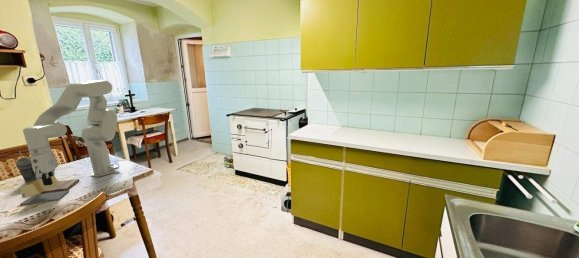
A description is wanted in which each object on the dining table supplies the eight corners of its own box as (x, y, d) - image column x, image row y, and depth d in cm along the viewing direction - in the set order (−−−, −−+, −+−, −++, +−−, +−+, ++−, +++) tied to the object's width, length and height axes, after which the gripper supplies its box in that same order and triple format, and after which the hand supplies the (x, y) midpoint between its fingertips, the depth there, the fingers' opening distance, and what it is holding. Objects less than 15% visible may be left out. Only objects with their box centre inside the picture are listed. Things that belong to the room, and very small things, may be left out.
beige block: (26, 198, 118) (18, 188, 116) (35, 192, 123) (28, 182, 121) (54, 188, 120) (48, 178, 118) (62, 183, 126) (56, 173, 124)
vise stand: (79, 181, 142) (72, 158, 138) (67, 190, 131) (59, 165, 127) (38, 186, 137) (30, 162, 133) (22, 196, 125) (13, 170, 122)
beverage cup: (28, 184, 138) (17, 153, 133) (19, 183, 140) (8, 152, 135) (43, 179, 145) (33, 149, 140) (34, 178, 147) (24, 148, 142)
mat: (69, 191, 129) (68, 190, 129) (58, 200, 121) (58, 198, 121) (33, 196, 125) (33, 195, 125) (20, 205, 117) (19, 204, 117)
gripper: (37, 154, 111) (48, 189, 115) (59, 145, 126) (68, 176, 130) (17, 156, 109) (29, 192, 113) (42, 146, 124) (51, 178, 128)
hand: (50, 183), depth 122 cm, fingers closed on beige block
